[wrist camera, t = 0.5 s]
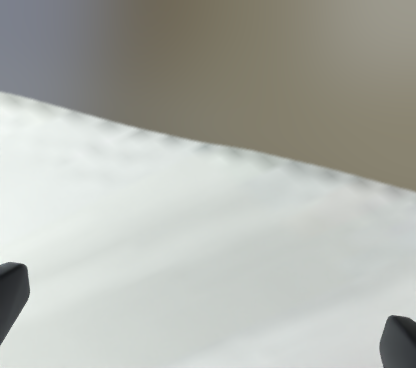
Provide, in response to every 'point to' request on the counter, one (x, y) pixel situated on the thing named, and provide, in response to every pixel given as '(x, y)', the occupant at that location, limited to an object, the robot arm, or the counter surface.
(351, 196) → the counter surface
